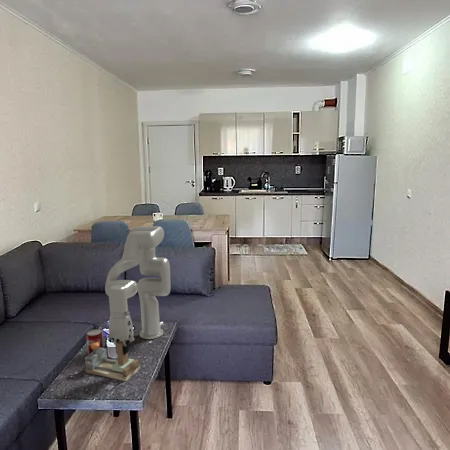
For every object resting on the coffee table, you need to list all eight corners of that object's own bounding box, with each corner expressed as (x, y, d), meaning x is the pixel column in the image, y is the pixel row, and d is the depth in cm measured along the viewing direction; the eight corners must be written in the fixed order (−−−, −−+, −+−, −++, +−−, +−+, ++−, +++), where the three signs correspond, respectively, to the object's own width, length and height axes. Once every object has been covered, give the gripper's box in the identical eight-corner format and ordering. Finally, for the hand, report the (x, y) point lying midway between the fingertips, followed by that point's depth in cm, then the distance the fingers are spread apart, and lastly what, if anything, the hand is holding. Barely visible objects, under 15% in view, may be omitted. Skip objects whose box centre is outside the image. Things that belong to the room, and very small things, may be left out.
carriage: (123, 361, 183) (121, 336, 181) (134, 363, 180) (132, 338, 178) (112, 370, 175) (110, 344, 173) (123, 372, 173) (121, 346, 171)
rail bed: (101, 360, 190) (100, 346, 189) (140, 368, 181) (139, 354, 180) (85, 372, 180) (84, 357, 179) (125, 381, 171) (124, 365, 170)
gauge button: (95, 351, 185) (94, 341, 185) (101, 352, 184) (100, 342, 183) (90, 354, 182) (89, 345, 181) (96, 355, 181) (95, 346, 180)
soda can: (99, 359, 191) (97, 336, 189) (85, 358, 193) (83, 335, 191) (106, 352, 198) (104, 329, 196) (93, 351, 200) (91, 328, 198)
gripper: (140, 312, 174) (142, 351, 177) (109, 308, 180) (112, 346, 183) (129, 318, 167) (132, 359, 170) (98, 314, 173) (101, 353, 176)
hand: (122, 352), depth 177 cm, fingers closed on carriage, 3 cm apart
